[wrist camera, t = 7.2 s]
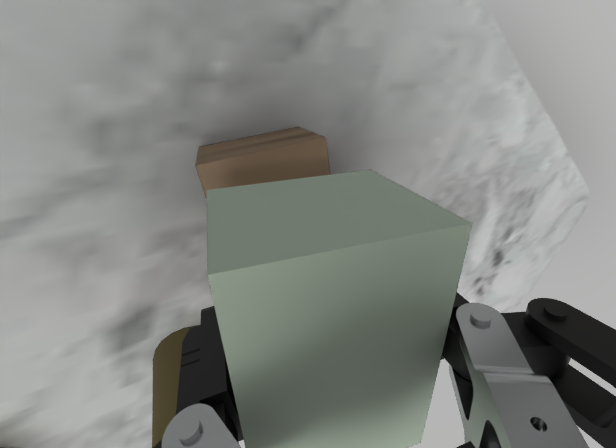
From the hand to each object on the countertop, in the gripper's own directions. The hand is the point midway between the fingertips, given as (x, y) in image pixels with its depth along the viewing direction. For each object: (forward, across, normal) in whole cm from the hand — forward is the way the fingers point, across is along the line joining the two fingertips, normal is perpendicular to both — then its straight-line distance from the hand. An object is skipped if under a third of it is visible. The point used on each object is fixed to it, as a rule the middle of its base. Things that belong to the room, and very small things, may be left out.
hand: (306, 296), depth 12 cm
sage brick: (+1, 0, 0) cm, 1 cm away
